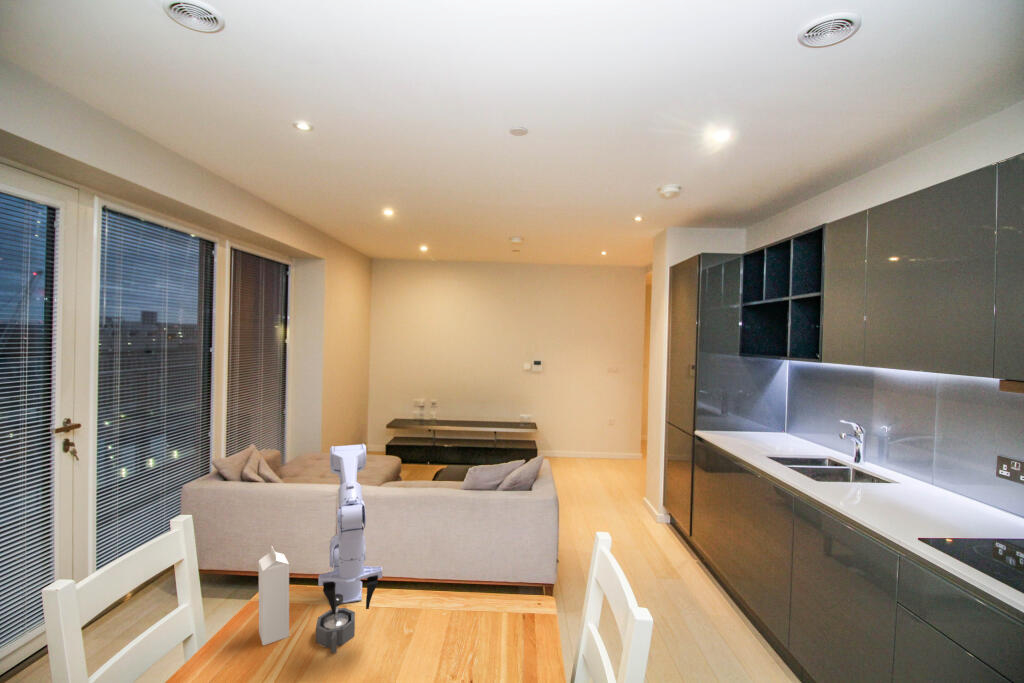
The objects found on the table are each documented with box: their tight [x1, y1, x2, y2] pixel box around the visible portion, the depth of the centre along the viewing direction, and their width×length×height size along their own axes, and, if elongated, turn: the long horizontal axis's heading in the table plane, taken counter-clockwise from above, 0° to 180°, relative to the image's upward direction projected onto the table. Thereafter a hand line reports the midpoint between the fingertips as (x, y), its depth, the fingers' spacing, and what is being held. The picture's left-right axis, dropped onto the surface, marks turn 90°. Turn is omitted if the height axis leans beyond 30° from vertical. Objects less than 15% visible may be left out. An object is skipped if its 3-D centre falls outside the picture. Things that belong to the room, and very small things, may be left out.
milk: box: [258, 545, 290, 647], centre depth 118 cm, size 6×6×22 cm
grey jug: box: [315, 607, 356, 654], centre depth 118 cm, size 12×9×4 cm
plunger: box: [323, 594, 348, 630], centre depth 119 cm, size 6×6×6 cm
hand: (350, 609), depth 113 cm, fingers open, 7 cm apart
